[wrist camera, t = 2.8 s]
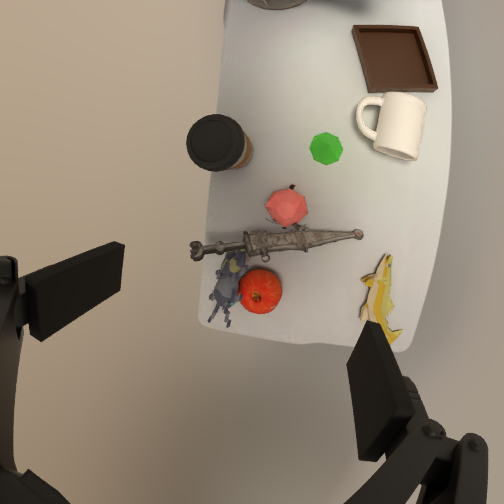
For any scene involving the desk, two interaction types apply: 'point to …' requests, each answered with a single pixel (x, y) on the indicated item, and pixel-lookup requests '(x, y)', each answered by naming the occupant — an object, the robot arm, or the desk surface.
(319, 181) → the desk surface
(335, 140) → the green pyramid
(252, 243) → the decorative dagger
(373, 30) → the serving tray
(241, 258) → the toy
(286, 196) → the cat figurine
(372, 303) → the toy
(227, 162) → the coffee cup
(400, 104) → the mug
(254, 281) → the apple
